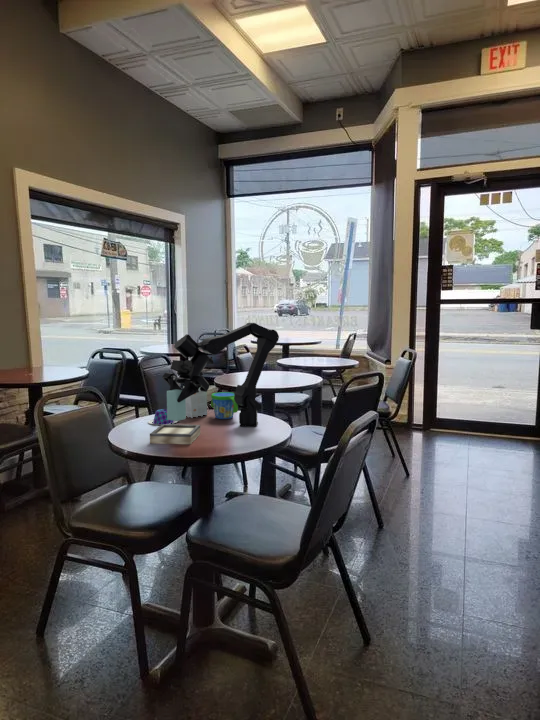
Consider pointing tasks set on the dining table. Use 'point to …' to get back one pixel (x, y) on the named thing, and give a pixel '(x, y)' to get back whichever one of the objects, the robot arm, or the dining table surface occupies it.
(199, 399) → the small box
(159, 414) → the checkered hat
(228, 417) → the snack cup
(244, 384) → the robot arm
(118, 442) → the dining table surface
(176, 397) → the teal block
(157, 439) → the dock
